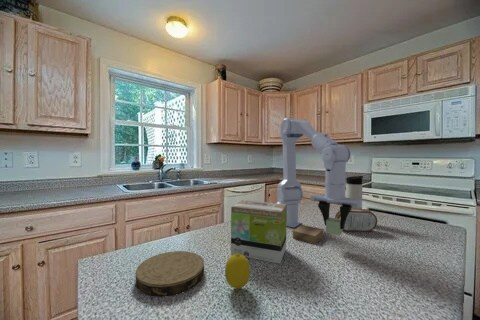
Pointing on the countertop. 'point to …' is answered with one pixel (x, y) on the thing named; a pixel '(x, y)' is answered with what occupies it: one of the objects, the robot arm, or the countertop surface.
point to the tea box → (259, 230)
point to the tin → (359, 220)
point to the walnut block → (308, 234)
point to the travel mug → (354, 189)
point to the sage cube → (333, 226)
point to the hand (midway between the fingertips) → (334, 226)
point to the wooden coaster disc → (169, 273)
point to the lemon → (237, 271)
